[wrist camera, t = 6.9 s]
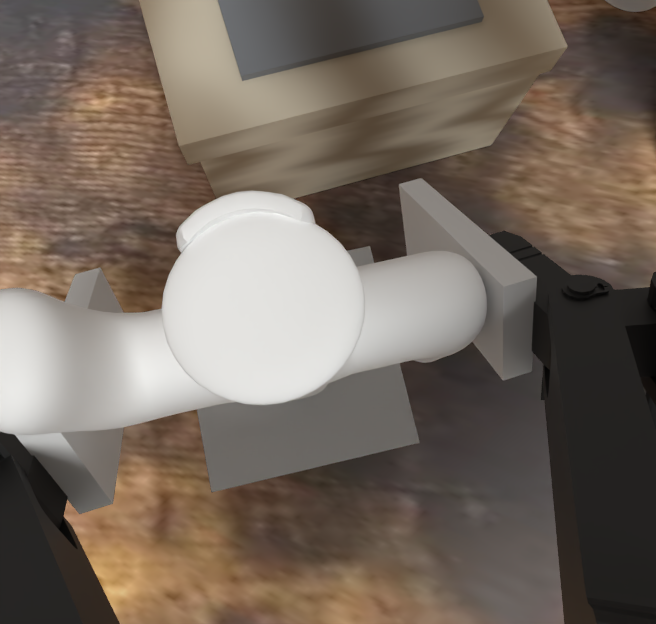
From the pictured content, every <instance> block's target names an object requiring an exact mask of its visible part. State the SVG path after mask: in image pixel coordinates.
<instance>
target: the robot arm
mask: <svg viewBox="0 0 656 624" xmlns="http://www.w3.org/2000/svg"><path fill="white" fill-rule="evenodd" d="M399 191H400V200H401V208H402V217H403V225H404V234H405V242H406V250H407V256H409V255H413V254H418V253H423V252H430V251H448V252H452V253H456V254H459V255H461V256H463V257H465V258H466V259H467V260H469V261H470V262H471V263H472V264H473V266H474V267H475V268H476V270H477V271H478V273H479V275H480V276H481V278H482V281H483V284H484V286H485V291H486V295H487V313H486V318H485V323H484V325H483V327H482V329H481V331H480V333H479V334H478V335H477V337H476V338H475V339H474V340H473V341H472V342H473V343H474V344H475V346H476V347H477V348H478V349H479V351H480V352H481V353H482V355H483V356H484V357H485V358H486V360H487V361H488V362H489V364H490V365H491V366H492V367H493V369H494V370H495V371H496V372H497V374H498V375H499V376H500V378H501V379H502V380H507V379H510V378H513V377H516V376H519V375H523V374H526V373H529V372H532V364H533V353H534V354H535V355H536V356H537V357H538V358H539V359H540V361H541V362H542V363H543V378H542V392H541V400H545V410H546V421H547V432H548V444H549V455H550V466H551V477H552V489H553V500H554V511H555V522H556V534H557V545H558V556H559V567H560V578H561V590H562V601H563V612H564V623H565V624H656V429H655V426H654V422H653V419H652V416H651V412H650V409H649V405H648V402H647V399H646V395H645V392H644V389H645V390H646V392H647V393H648V395H649V396H650V398H651V399H652V401H653V402H654V404H655V405H656V272H654V273H653V276H652V279H651V284H650V287H647V288H635V289H623V290H614V289H613V288H612V286H611V285H610V284H609V283H607V282H606V281H604V280H602V279H600V278H596V277H593V276H587V275H570V274H569V273H567V272H566V271H565V270H563V269H562V268H561V267H559V266H558V265H557V264H556V263H554V262H553V261H552V260H550V259H549V258H548V257H547V256H545V255H544V254H543V255H542V254H541V252H540V251H539V250H538V249H536V248H535V247H532V245H531V244H530V243H528V242H527V241H526V240H525V239H523V238H522V237H521V236H518V235H515V234H512V233H509V232H506V231H502V232H499V233H495V234H492V235H488V234H486V233H485V232H484V231H483V230H482V229H481V228H479V227H478V226H477V225H476V224H475V223H474V222H472V221H471V220H470V219H469V218H468V217H466V216H465V215H464V214H463V213H462V212H461V211H459V210H458V209H457V208H456V207H455V206H454V205H452V204H451V203H450V202H449V201H448V200H447V199H445V198H444V197H443V196H442V195H441V194H440V193H438V192H437V191H436V190H435V189H434V188H433V187H431V186H430V185H429V184H428V183H427V182H426V181H424V180H423V179H422V178H419V179H416V180H412V181H409V182H405V183H401V184H399ZM65 302H66V303H69V304H72V305H75V306H79V307H83V308H87V309H91V310H97V311H102V312H112V313H124V312H123V310H122V308H121V306H120V304H119V302H118V300H117V298H116V297H115V295H114V293H113V291H112V289H111V287H110V285H109V283H108V281H107V279H106V277H105V276H104V274H103V272H102V270H101V268H97V269H93V270H89V271H86V272H82V273H79V274H75V276H74V279H73V281H72V284H71V287H70V289H69V292H68V294H67V297H66V300H65ZM643 387H644V389H643ZM123 430H124V427H122V428H116V429H108V430H96V431H76V432H62V433H49V434H37V435H15V434H8V433H4V432H0V624H120V623H119V621H118V619H117V617H116V615H115V613H114V611H113V609H112V607H111V605H110V603H109V601H108V599H107V597H106V595H105V593H104V591H103V589H102V587H101V585H100V583H99V580H98V578H97V576H96V574H95V572H94V570H93V568H92V566H91V564H90V562H89V560H88V558H87V556H86V554H85V552H84V550H83V548H82V546H81V544H80V542H79V540H78V538H77V536H76V534H75V532H74V530H73V527H72V526H71V525H70V523H69V522H68V521H67V520H66V519H65V518H64V516H63V515H64V511H65V507H66V502H67V499H68V501H69V502H70V503H71V504H72V506H73V507H74V508H75V509H76V510H77V512H78V513H79V514H81V513H85V512H88V511H91V510H94V509H97V508H101V507H104V506H107V505H110V504H113V499H114V492H115V485H116V478H117V471H118V465H119V458H120V451H121V444H122V437H123Z"/></svg>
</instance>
